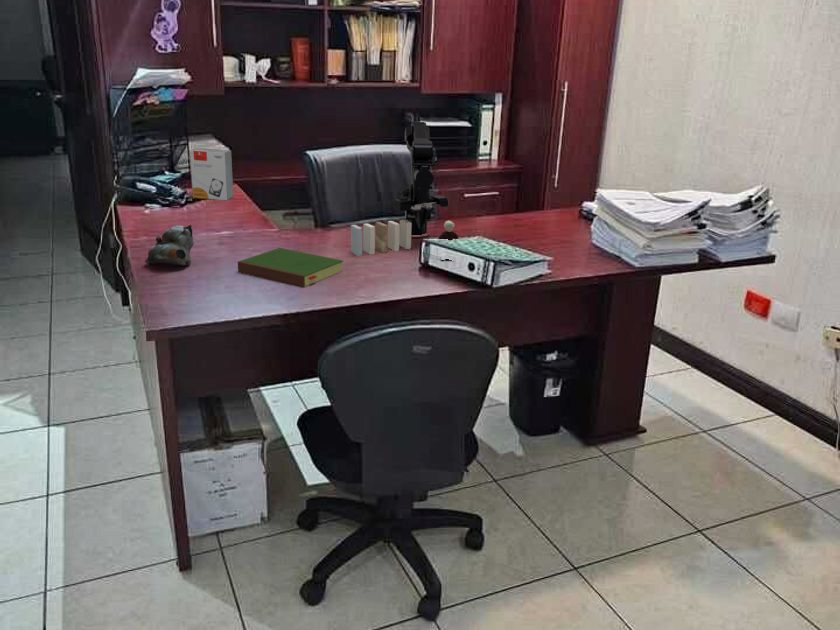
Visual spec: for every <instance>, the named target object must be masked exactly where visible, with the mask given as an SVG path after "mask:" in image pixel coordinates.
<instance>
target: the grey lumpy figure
mask: <svg viewBox="0 0 840 630" xmlns="http://www.w3.org/2000/svg"><path fill="white" fill-rule="evenodd" d="M192 228H193V227H192V224H189V225H187V226H184V225H173V226H170V227H169V229H166V230H165V231H164V232H163V233H162V235H161V236H160V235H157V237H155V241H156V243H155V244H154V245H152V246H151V247H150V248H149V250H148V252H147V253H148V254H147V255H148V256H147V258H145V259H144V263H146V264H148V265H152V264H168V265H174V266H175V265H177V266H182V265H183V266H182V267H185V266H189V267H190V266H191V261H192V260H191V259H192V258H191V254H190V252H191V249H192V248H193V247H194V244H195V241H194V236H193V229H192Z"/></svg>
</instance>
